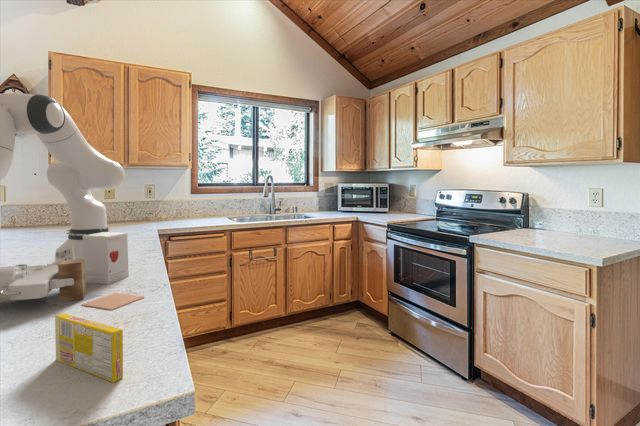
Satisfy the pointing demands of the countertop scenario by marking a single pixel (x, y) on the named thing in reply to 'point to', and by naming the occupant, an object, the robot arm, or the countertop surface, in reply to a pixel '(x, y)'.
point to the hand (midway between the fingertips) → (76, 277)
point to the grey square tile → (57, 301)
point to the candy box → (89, 346)
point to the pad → (113, 301)
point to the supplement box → (105, 257)
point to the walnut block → (79, 287)
